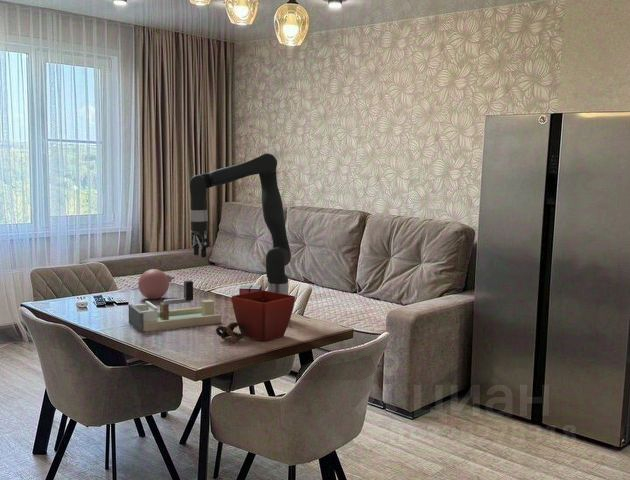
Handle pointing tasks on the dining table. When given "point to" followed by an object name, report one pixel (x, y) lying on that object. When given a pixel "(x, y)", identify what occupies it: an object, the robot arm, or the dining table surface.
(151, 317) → the tray with compartments
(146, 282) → the balloon
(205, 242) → the robot arm
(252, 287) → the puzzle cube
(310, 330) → the dining table surface
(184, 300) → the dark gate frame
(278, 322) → the plant pot
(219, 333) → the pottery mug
